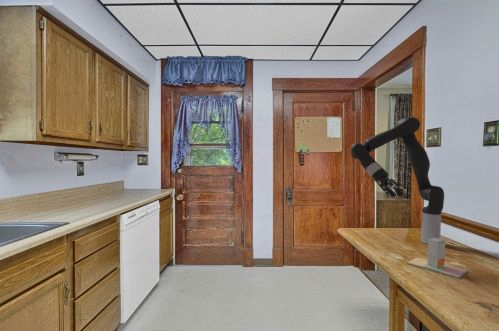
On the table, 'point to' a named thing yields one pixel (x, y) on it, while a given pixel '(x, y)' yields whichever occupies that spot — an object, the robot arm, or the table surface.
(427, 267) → the multicoloured flat board
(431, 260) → the skincare box
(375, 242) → the table surface
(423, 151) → the robot arm
